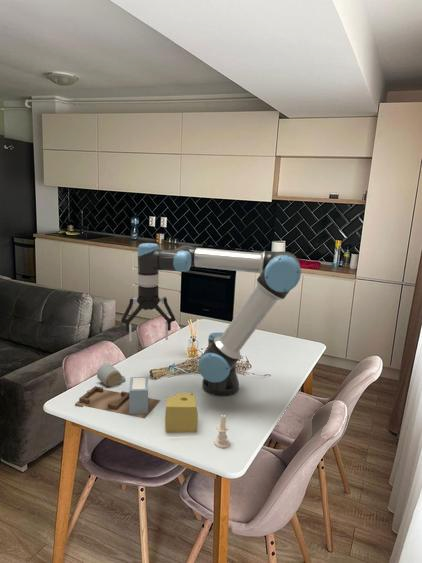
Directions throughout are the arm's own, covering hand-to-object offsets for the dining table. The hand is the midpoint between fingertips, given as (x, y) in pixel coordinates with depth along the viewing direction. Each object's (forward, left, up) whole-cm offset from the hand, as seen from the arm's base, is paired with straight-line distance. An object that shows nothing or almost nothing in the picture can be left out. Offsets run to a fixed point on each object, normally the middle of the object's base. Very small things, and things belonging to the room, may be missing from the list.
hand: (148, 339), depth 162 cm
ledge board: (+7, +11, -23) cm, 26 cm away
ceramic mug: (+17, -3, -23) cm, 29 cm away
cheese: (-20, +17, -23) cm, 35 cm away
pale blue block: (-2, +11, -22) cm, 25 cm away
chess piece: (-36, +22, -23) cm, 48 cm away
